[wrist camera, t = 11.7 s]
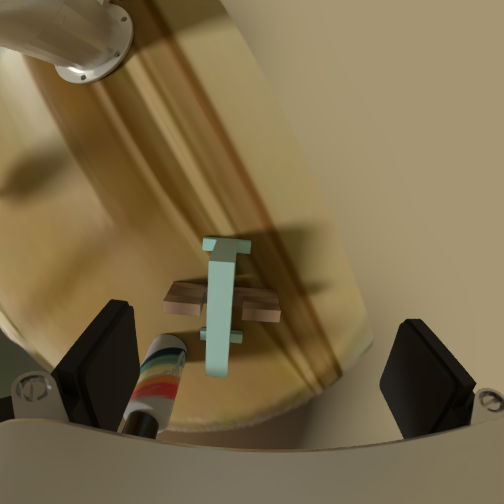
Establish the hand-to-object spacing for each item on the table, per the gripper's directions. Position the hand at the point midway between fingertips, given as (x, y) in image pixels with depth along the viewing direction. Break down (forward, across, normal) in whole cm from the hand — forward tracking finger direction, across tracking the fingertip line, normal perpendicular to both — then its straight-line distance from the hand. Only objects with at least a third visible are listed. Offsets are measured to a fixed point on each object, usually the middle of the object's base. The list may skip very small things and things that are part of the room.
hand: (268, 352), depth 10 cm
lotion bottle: (+31, +11, +22) cm, 39 cm away
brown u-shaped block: (+30, +3, +12) cm, 33 cm away
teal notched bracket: (+30, +3, +12) cm, 33 cm away
